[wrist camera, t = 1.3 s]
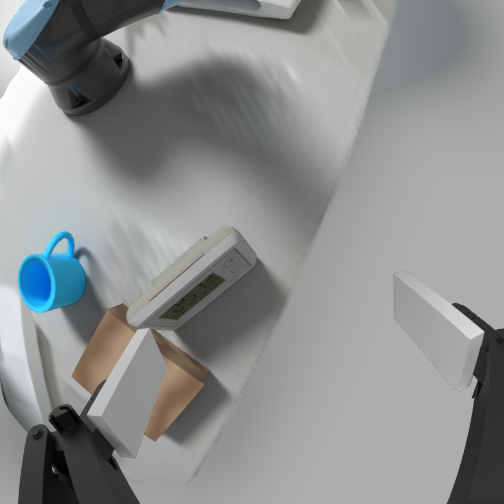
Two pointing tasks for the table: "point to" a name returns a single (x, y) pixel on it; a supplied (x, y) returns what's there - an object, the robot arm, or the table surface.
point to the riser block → (178, 362)
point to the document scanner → (248, 7)
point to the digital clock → (193, 281)
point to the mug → (51, 277)
